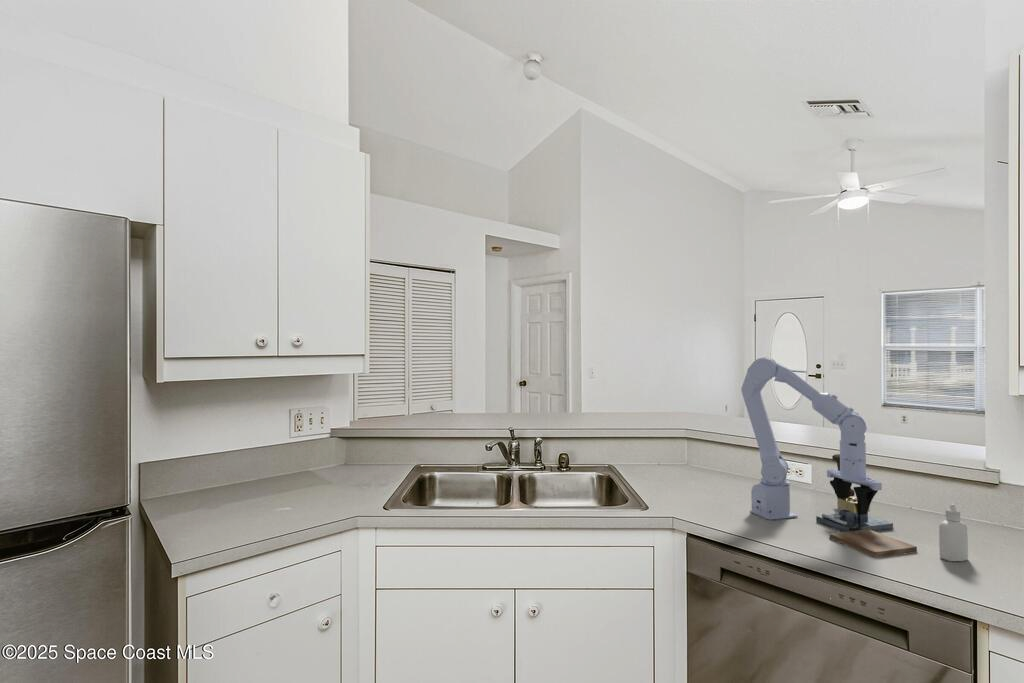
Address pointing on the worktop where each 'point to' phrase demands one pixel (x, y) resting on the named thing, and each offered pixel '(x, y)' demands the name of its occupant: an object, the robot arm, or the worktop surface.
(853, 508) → the collar
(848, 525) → the vise
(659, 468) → the worktop surface
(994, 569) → the worktop surface
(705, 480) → the worktop surface
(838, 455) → the bolt
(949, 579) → the worktop surface
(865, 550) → the board
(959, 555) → the eye dropper bottle
